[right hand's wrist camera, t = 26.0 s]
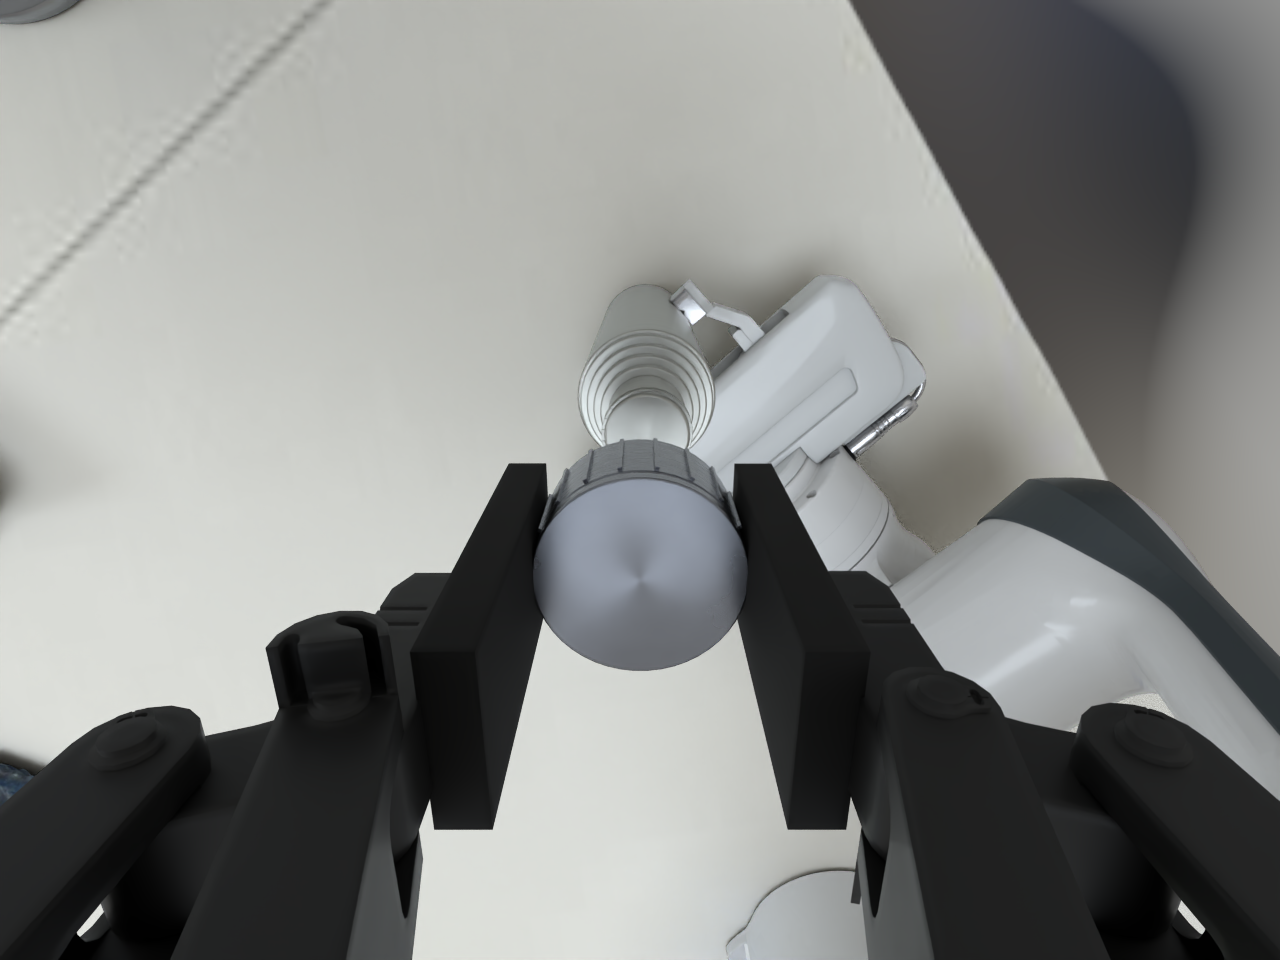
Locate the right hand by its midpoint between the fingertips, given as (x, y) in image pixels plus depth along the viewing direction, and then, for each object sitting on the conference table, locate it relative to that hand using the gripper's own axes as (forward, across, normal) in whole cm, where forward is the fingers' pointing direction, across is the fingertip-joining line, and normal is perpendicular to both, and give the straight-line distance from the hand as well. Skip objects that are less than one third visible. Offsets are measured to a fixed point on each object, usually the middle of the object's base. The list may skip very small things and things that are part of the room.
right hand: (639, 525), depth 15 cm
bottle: (+31, 0, 0) cm, 31 cm away
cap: (-2, 0, 0) cm, 2 cm away
